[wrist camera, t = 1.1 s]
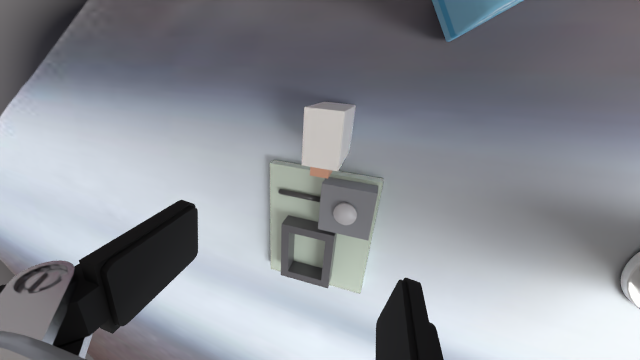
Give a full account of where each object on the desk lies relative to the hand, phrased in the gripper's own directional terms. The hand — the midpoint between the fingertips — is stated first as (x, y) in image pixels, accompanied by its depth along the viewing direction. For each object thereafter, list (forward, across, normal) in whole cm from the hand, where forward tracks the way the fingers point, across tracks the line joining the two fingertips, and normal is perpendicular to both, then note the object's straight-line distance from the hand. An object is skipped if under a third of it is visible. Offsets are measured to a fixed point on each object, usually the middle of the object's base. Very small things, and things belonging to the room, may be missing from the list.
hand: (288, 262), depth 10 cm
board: (+23, 0, +14) cm, 27 cm away
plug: (+23, +2, -1) cm, 23 cm away
